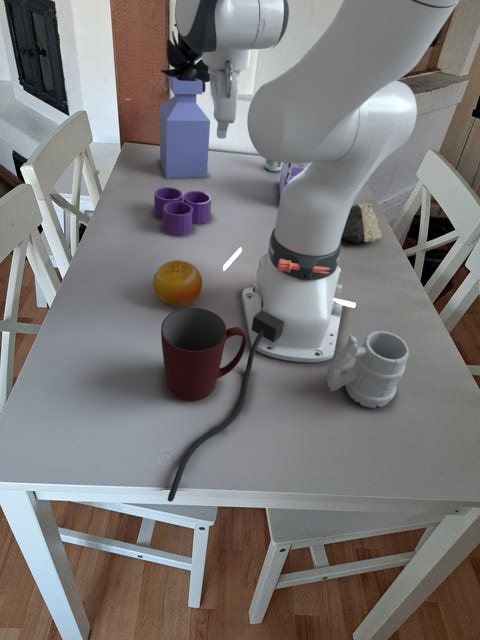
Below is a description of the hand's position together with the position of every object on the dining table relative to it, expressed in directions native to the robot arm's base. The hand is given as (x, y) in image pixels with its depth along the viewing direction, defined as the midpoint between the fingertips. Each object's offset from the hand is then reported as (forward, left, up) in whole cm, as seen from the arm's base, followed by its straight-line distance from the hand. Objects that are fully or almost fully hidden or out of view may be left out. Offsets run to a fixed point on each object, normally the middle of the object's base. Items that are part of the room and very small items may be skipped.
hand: (219, 127), depth 97 cm
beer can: (+30, -14, -20) cm, 38 cm away
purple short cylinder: (-3, +3, -20) cm, 20 cm away
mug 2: (-50, -29, -20) cm, 61 cm away
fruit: (-33, +2, -20) cm, 39 cm away
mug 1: (-52, -5, -20) cm, 56 cm away
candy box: (+14, -19, -20) cm, 31 cm away
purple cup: (-3, +10, -20) cm, 22 cm away
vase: (+22, +10, -20) cm, 31 cm away
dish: (-9, +7, -20) cm, 23 cm away
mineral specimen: (-2, -31, -20) cm, 37 cm away
